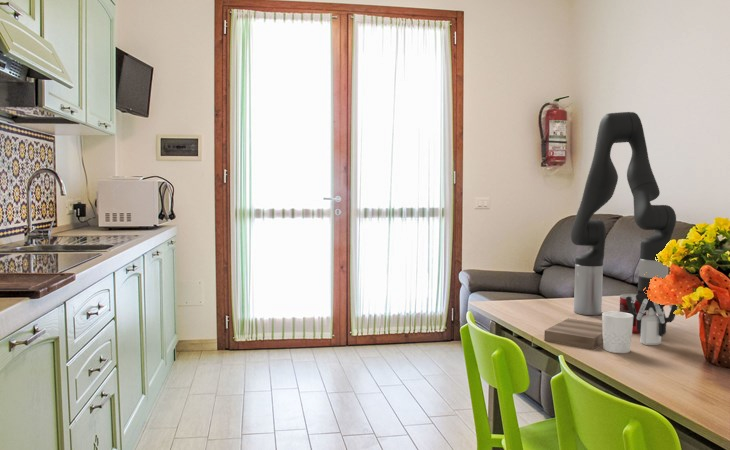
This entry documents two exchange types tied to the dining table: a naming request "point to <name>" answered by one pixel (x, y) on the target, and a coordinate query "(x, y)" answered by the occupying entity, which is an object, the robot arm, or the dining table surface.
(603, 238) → the robot arm
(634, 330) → the canned food
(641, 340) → the eye dropper bottle
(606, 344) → the white cup
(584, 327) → the walnut base board
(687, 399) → the dining table surface
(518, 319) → the dining table surface
